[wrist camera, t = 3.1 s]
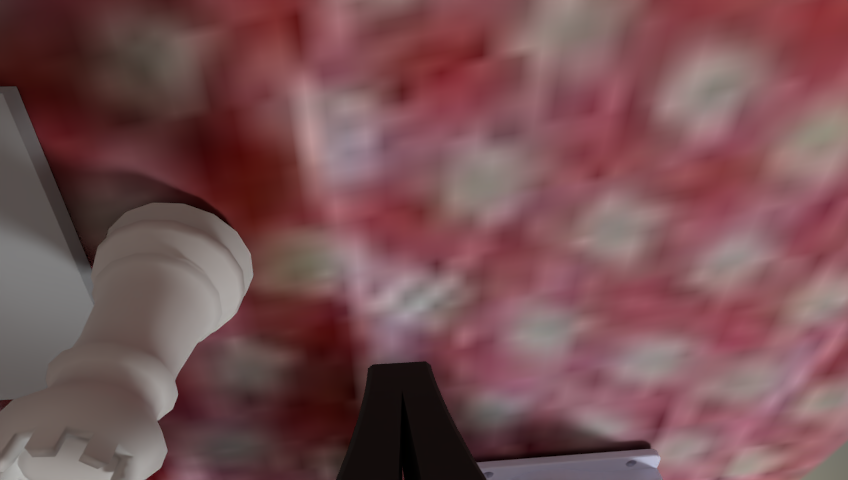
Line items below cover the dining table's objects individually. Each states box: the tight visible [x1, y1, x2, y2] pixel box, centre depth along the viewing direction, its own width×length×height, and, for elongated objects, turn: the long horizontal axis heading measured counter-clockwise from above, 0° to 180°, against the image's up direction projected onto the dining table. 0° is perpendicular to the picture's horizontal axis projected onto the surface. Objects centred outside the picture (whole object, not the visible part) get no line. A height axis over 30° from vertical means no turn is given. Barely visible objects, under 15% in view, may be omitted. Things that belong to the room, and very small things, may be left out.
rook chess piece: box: [0, 203, 253, 480], centre depth 13 cm, size 4×4×8 cm
